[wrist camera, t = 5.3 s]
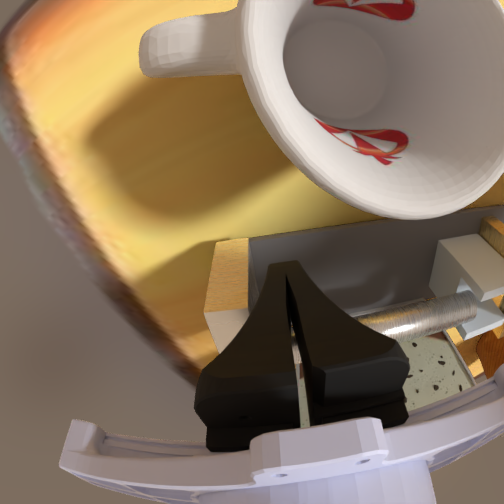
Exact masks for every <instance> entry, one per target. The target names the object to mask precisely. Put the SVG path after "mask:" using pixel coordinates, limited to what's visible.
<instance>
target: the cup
mask: <svg viewBox="0 0 504 504" xmlns="http://www.w3.org/2000/svg"><path fill="white" fill-rule="evenodd" d="M139 65H140V68H141V70H142V72H143V74H144V75H146V76H148V77H152V78H172V77H191V76H210V75H242V78H243V82H244V85H245V87H246V90H247V93H248V95H249V98H250V100H251V103H252V105H253V107H254V109H255V111H256V113H257V115H258V116H259V118H260V120H261V122H262V124H263V125H264V127H265V128H266V130H267V131H268V133H269V134H270V136H271V137H272V139H273V140H274V142H275V143H276V144H277V145H278V147H279V148H280V149H281V151H282V152H283V153H284V154H285V155H286V156H287V157H288V159H289V160H290V161H291V162H292V163H293V164H294V165H295V166H296V167H297V168H298V169H299V170H300V171H301V172H302V173H303V174H304V175H306V176H307V177H308V178H309V179H310V180H312V181H313V182H314V183H315V184H316V185H318V186H319V187H320V188H322V189H323V190H325V191H326V192H328V193H329V194H331V195H332V196H334V197H335V198H337V199H339V200H341V201H343V202H345V203H347V204H348V205H350V206H353V207H355V208H357V209H360V210H362V211H365V212H368V213H371V214H374V215H377V216H382V217H387V218H393V219H402V220H421V219H431V218H435V217H439V216H444V215H447V214H450V213H452V212H455V211H457V210H459V209H462V208H464V207H465V206H467V205H469V204H470V203H472V202H474V201H475V200H477V199H478V198H479V197H480V196H482V195H483V194H484V193H486V192H487V191H488V190H489V189H490V188H491V187H492V186H493V185H494V184H495V182H496V181H497V180H498V179H499V178H500V176H501V175H502V174H503V172H504V9H503V7H502V6H501V4H500V2H499V1H498V0H239V1H238V4H237V7H236V8H234V9H232V10H230V11H227V12H221V13H213V14H205V15H195V16H189V17H184V18H179V19H174V20H170V21H167V22H164V23H161V24H158V25H156V26H154V27H152V28H150V29H149V30H147V31H146V32H145V33H144V35H143V36H142V38H141V41H140V45H139Z"/></svg>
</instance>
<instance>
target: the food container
mask: <svg viewBox="0 0 504 504" xmlns="http://www.w3.org/2000/svg"><path fill="white" fill-rule="evenodd" d="M423 301H426V300H425V298H424V297H423V298H419V299H415V300H411V301H406V302H402V303H398V304H393V305H389V306H385V307H380V308H375V309H371V310H366V311H361V312H356V313H351V314H349V315H350V316H351V317H354V316H360V315H365V314H370V313H375V312H379V311H384V310H389V309H393V308H398V307H402V306H407V305H411V304H415V303H419V302H423ZM399 345H400V346H401V348H402V349H403V351H404V353H405V354H406V356H407V359H408V361H409V364H410V371H409V374H408V376H407V378H406V381H405V383H404V385H403V387H402V388H403V390H404V393H405V398H404V399H403V400H404V402H405V405H406V408H407V411H408V412H409V411H412V410H415V409H418V408H421V407H424V406H426V405H429V404H432V403H435V402H437V401H440V400H442V399H445V398H447V397H450V396H452V395H455V394H457V393H459V392H462V391H464V390H466V389H468V388H471V387H473V386H475V385H477V383H476V381H475V379H474V377H473V375H472V374H471V372H470V370H469V368H468V367H467V365H466V363H465V361H464V360H463V358H462V356H461V354H460V353H459V351H458V349H457V348H456V346H455V344H454V343H453V341H452V340H451V338H450V336H449V335H448V333H447V332H446V330H444V331H441V332H437V333H434V334H431V335H427V336H424V337H420V338H417V339H413V340H410V341H406V342H402V343H399ZM295 365H296V377H297V385H298V396H299V408H300V421H301V422H300V423H301V428H304V427H310V423H309V414H308V406H307V398H306V390H305V383H304V375H303V368H302V363H298V364H295Z"/></svg>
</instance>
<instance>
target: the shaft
mask: <svg viewBox="0 0 504 504" xmlns="http://www.w3.org/2000/svg"><path fill="white" fill-rule="evenodd" d="M258 297H259V290H258V285H257V280H256V275H255V270H254V265H253V260H252V255H251V249H250V244H249V239H248V237H247V238H240V239H234V240H227V241H220V242H216V245H215V251H214V256H213V261H212V267H211V272H210V278H209V283H208V289H207V294H206V300H205V306H204V312H203V313H204V316H205V319H206V321H207V324H208V327H209V329H210V332H211V334H212V337H213V339H214V342H215V345H216V347H217V350H218V352H219V354H220V353H221V352H222V351H223V350H224V349H225V348H226V346H227V345H228V344H229V343H230V342H231V341H232V340H233V338H234V337H235V336H236V335H237V333H238V332H239V331H240V329H241V328H242V326H243V325H244V323H245V322H246V320H247V319H248V317H249V315H250V313H251V312H252V310H253V308H254V306H255V304H256V302H257V299H258ZM476 315H477V301H476V298H475V296H474V294H473V293H472V292H471V291H470V290H464V291H461V292H457V293H454V294H450V295H446V296H443V297H439V298H435V299H431V300H427V301H423V302H419V303H415V304H411V305H407V306H402V307H398V308H393V309H389V310H384V311H379V312H375V313H370V314H365V315H360V316H354V317H353V318H354V319H356V320H357V321H359V322H361V323H362V324H364V325H365V326H367V327H369V328H371V329H373V330H375V331H377V332H379V333H381V334H383V335H386V336H388V337H390V338H393V339H395V340H397V342H398V343H402V342H406V341H410V340H413V339H417V338H420V337H424V336H427V335H431V334H434V333H437V332H441V331H444V330H447V329H450V328H453V327H456V326H459V325H462V324H465V323H468V322H471V321H473V320H474V319H475V317H476ZM291 337H292V350H293V356H294V363H295V364H298V363H302V362H301V357H300V353H299V349H298V345H297V341H296V337H295V333H294V330H293V327H291Z"/></svg>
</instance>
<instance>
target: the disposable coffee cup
mask: <svg viewBox="0 0 504 504" xmlns="http://www.w3.org/2000/svg"><path fill="white" fill-rule="evenodd" d="M476 351H477V354H478V356H479V359H480V361H481V364H482V366H483V369H484V372H485V375H486V377H487V379H489V378H491V377H493V376H494V374H495V372H496V370H497V369H498V368H499V367H500V366H501V365H502V364H504V337H501V338H499V339H498V338H497V336H496V335H495V333H494V332H493V330H489V331H487V332H485V333H484V335H483V336H482V337H481V339H480V341H479V342H478V344H477V347H476ZM500 436H503V437H504V432H503V433H502V434H500Z"/></svg>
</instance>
